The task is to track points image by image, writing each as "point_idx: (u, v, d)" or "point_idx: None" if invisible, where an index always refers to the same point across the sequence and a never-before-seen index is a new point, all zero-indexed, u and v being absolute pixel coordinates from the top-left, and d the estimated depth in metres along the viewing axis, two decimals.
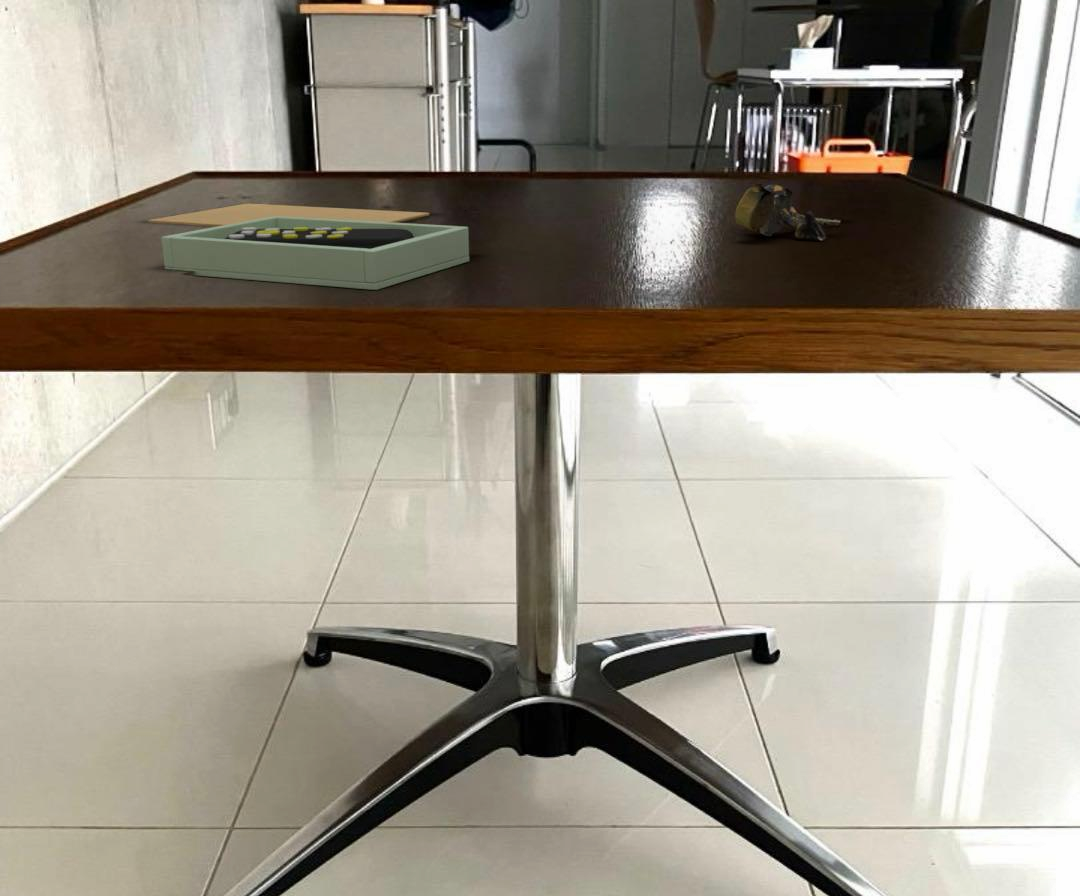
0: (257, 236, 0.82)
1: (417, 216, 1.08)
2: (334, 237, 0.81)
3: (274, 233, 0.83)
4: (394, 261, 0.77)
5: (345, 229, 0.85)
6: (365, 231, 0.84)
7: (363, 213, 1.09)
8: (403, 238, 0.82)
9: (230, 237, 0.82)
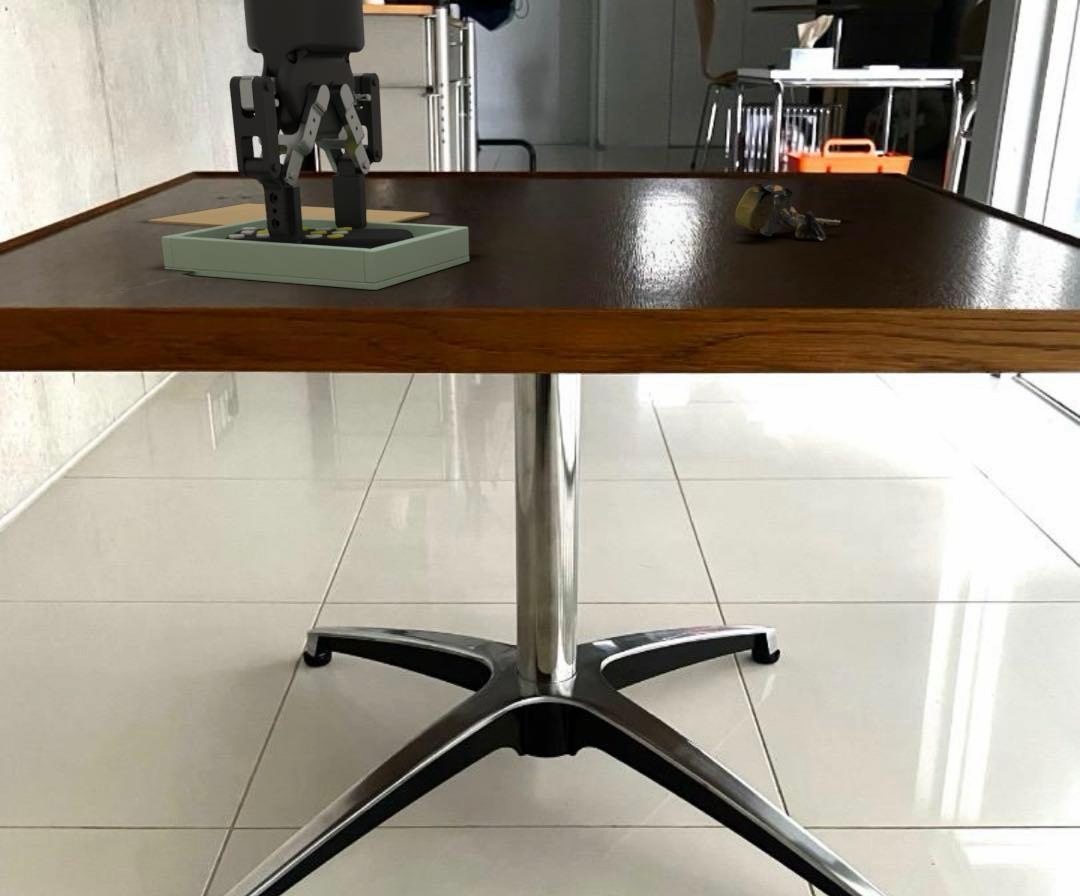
0: (257, 236, 0.82)
1: (417, 216, 1.08)
2: (334, 237, 0.81)
3: None
4: (394, 261, 0.77)
5: (345, 229, 0.85)
6: (365, 231, 0.84)
7: None
8: (403, 238, 0.82)
9: (230, 237, 0.82)
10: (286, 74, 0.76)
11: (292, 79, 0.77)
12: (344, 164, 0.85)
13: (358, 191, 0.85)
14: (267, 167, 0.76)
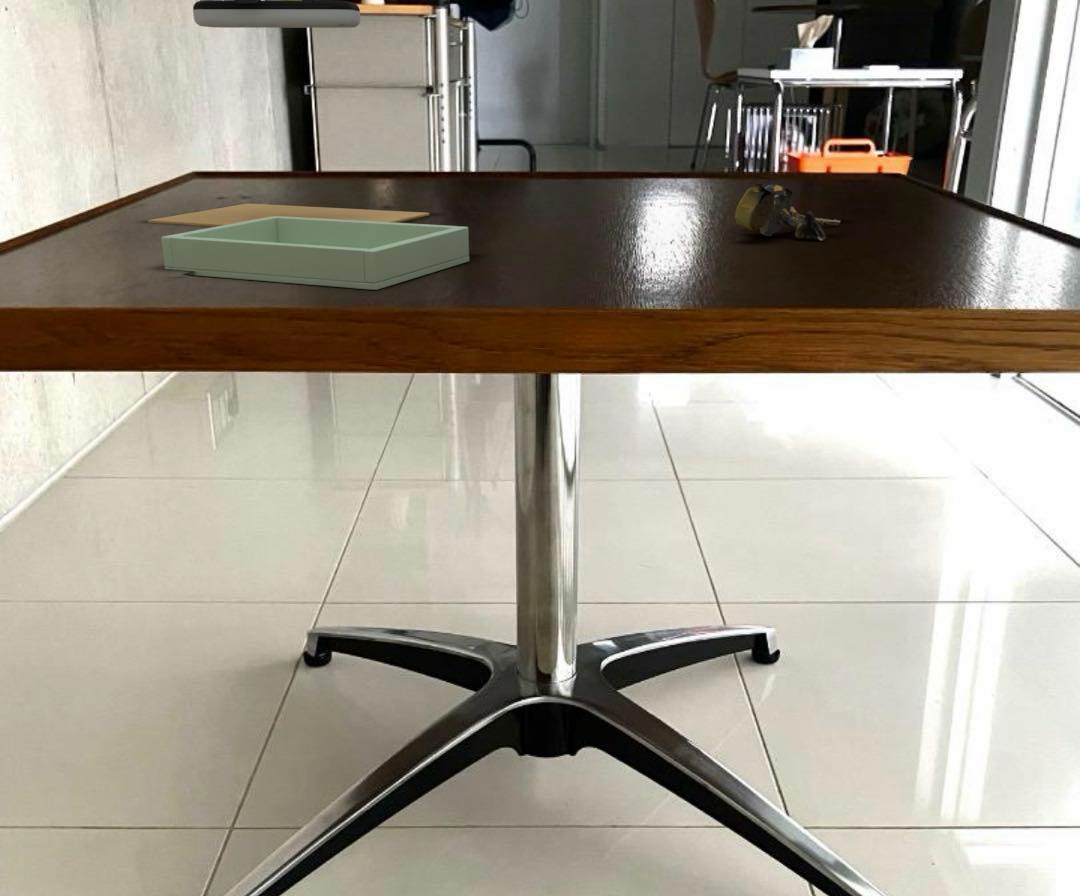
0: (224, 0, 0.96)
1: (417, 216, 1.08)
2: None
3: None
4: (394, 261, 0.77)
5: None
6: None
7: (363, 213, 1.09)
8: (347, 2, 0.96)
9: (201, 0, 0.96)
10: None
11: None
12: None
13: None
14: None
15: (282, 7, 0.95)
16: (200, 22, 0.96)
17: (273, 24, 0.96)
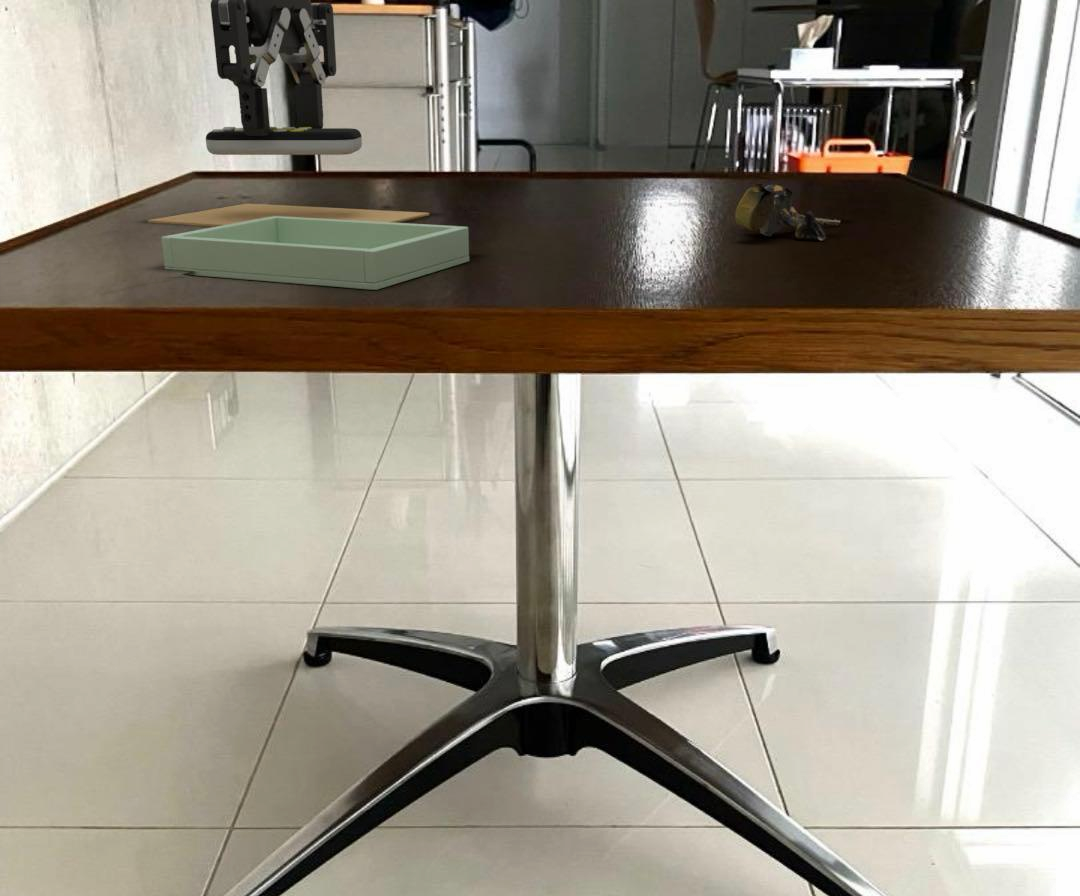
0: (235, 130, 1.03)
1: (417, 216, 1.08)
2: (295, 130, 1.03)
3: None
4: (394, 261, 0.77)
5: (306, 128, 1.06)
6: (321, 129, 1.06)
7: (363, 213, 1.09)
8: (350, 132, 1.03)
9: (213, 130, 1.03)
10: None
11: (260, 2, 0.98)
12: (304, 76, 1.07)
13: (316, 98, 1.07)
14: (240, 70, 0.97)
15: (290, 138, 1.02)
16: (212, 151, 1.03)
17: (281, 153, 1.03)
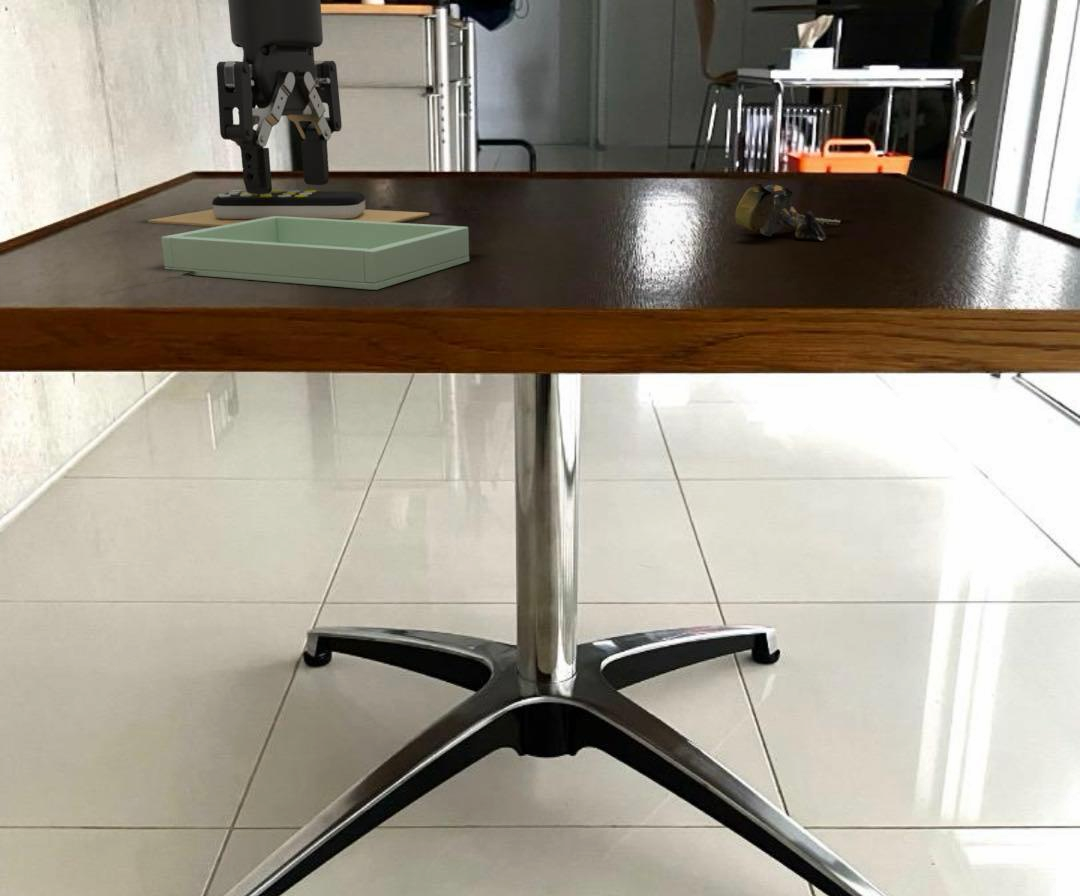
0: (240, 195, 1.05)
1: (417, 216, 1.08)
2: (300, 196, 1.05)
3: (254, 194, 1.06)
4: (394, 261, 0.77)
5: (310, 191, 1.08)
6: (326, 193, 1.08)
7: (363, 213, 1.09)
8: (354, 197, 1.05)
9: (219, 196, 1.05)
10: (261, 63, 0.99)
11: (265, 67, 1.00)
12: (310, 132, 1.09)
13: (321, 153, 1.09)
14: (243, 131, 0.98)
15: (294, 204, 1.04)
16: (219, 216, 1.05)
17: None
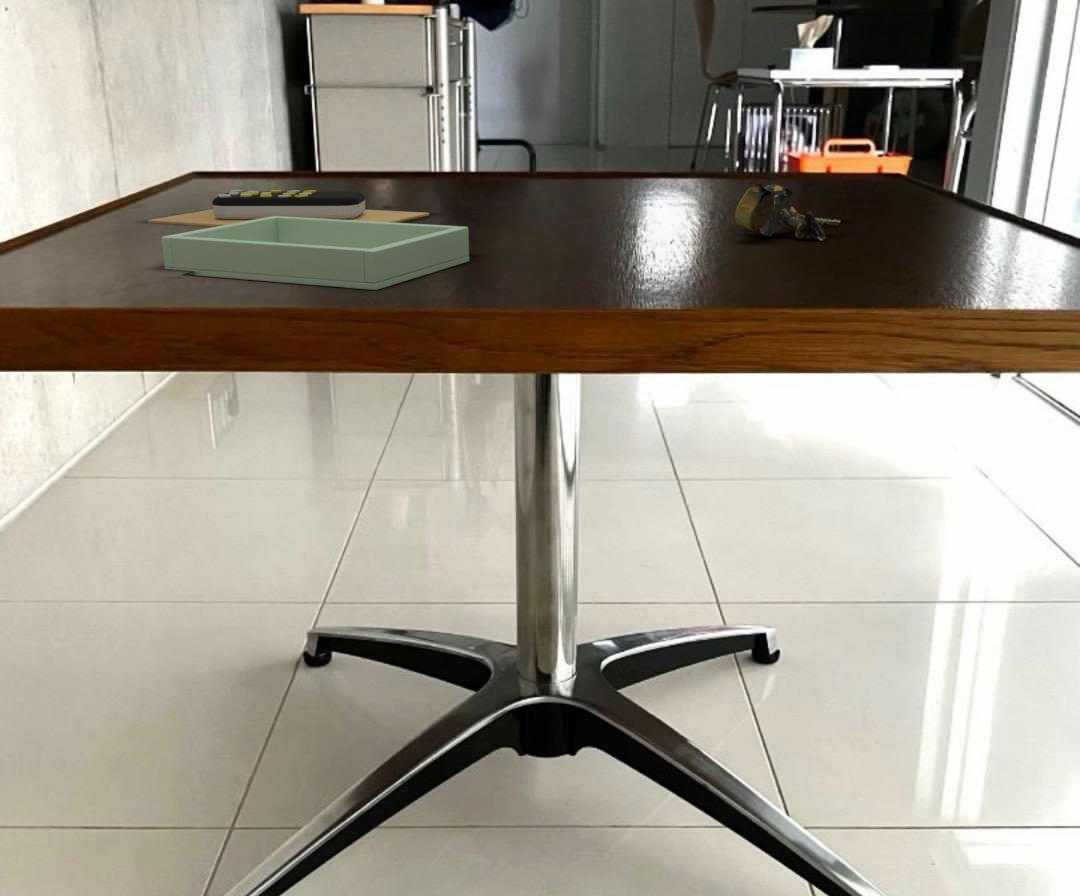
0: (240, 195, 1.05)
1: (417, 216, 1.08)
2: (300, 196, 1.05)
3: (254, 194, 1.06)
4: (394, 261, 0.77)
5: (310, 191, 1.08)
6: (326, 193, 1.08)
7: (363, 213, 1.09)
8: (354, 197, 1.05)
9: (219, 196, 1.05)
10: None
11: None
12: None
13: None
14: None
15: (294, 204, 1.04)
16: (219, 216, 1.05)
17: None
